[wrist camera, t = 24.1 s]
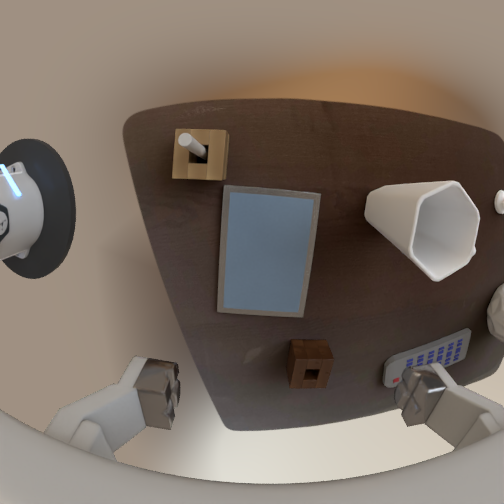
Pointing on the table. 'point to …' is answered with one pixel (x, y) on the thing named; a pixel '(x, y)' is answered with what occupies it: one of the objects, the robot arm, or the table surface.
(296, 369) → the pen stand
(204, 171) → the block
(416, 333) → the table surface
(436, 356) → the remote control
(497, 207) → the chess piece
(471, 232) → the cup
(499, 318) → the vase
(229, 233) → the tablet
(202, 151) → the stylus
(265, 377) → the table surface
